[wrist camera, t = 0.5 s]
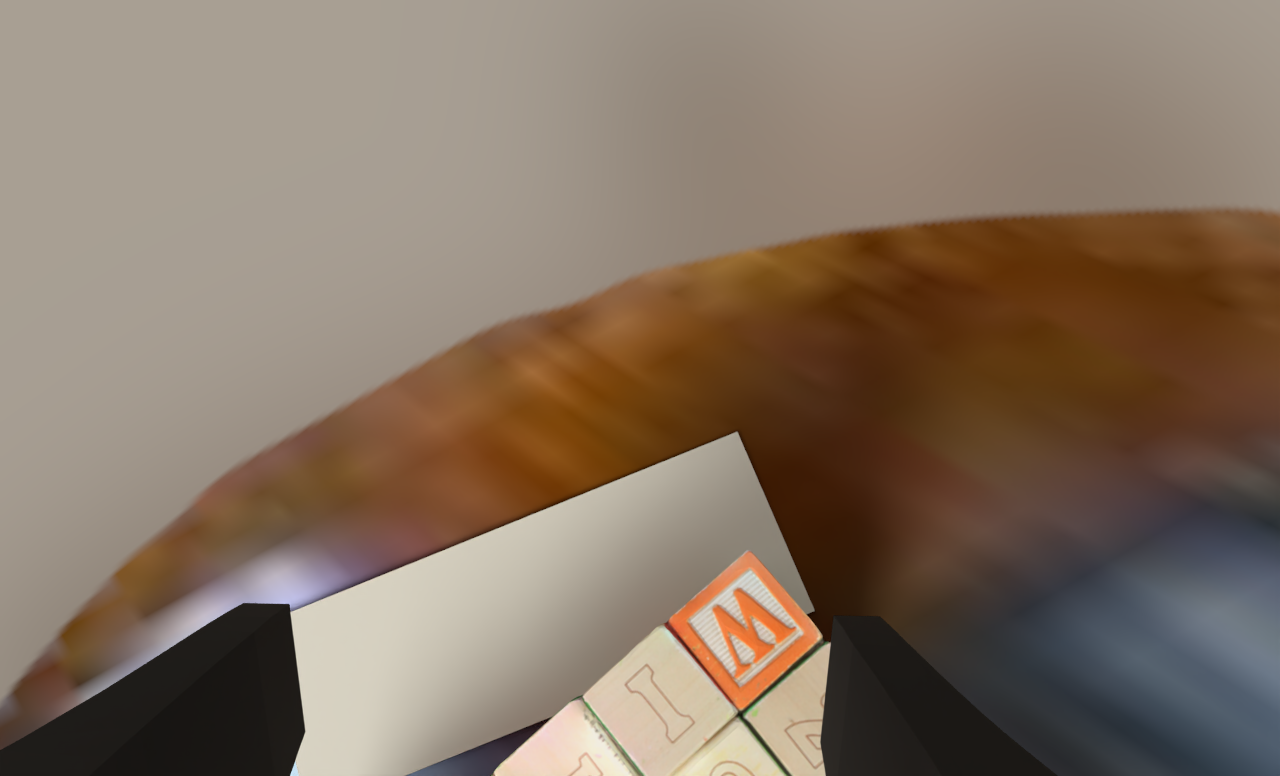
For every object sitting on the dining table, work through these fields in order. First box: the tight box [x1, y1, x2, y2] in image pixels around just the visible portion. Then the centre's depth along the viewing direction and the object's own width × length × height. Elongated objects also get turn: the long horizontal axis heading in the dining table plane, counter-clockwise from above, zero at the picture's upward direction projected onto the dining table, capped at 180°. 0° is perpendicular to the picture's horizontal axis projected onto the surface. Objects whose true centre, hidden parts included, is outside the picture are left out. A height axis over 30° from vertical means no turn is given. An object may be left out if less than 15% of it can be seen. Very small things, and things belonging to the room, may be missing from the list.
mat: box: [290, 432, 815, 776], centre depth 37 cm, size 8×22×1 cm, turn 111°
